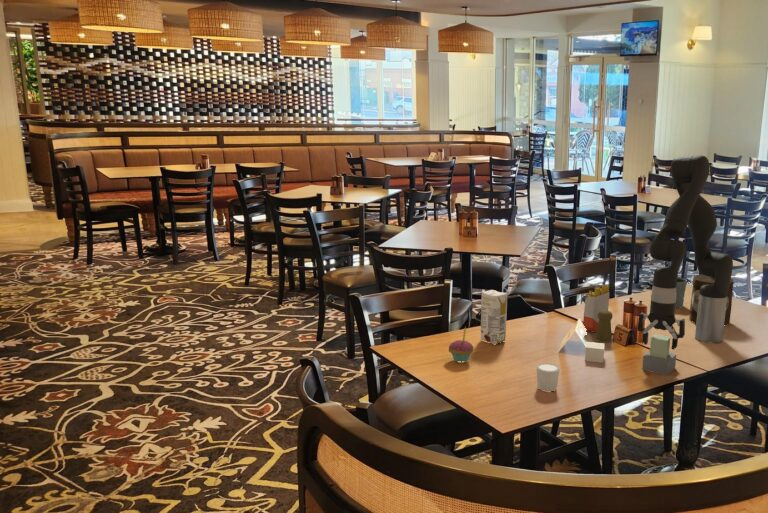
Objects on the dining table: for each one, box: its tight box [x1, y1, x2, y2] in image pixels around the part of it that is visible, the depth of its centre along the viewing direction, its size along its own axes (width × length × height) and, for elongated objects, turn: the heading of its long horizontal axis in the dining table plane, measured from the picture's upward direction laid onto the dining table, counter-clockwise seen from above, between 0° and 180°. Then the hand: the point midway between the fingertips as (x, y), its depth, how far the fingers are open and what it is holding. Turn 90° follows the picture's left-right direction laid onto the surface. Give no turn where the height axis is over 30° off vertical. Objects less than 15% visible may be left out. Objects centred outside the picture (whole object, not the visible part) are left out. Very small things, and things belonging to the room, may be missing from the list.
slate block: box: [641, 350, 677, 376], centre depth 213 cm, size 8×8×5 cm
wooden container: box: [688, 274, 734, 326], centre depth 259 cm, size 15×15×22 cm
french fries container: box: [582, 285, 610, 334], centre depth 251 cm, size 5×11×18 cm, turn 131°
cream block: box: [584, 341, 605, 364], centre depth 222 cm, size 6×6×5 cm
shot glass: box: [536, 363, 560, 392], centre depth 198 cm, size 7×7×7 cm
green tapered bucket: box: [675, 276, 688, 309], centre depth 283 cm, size 10×10×12 cm
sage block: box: [649, 333, 671, 359], centre depth 212 cm, size 5×5×6 cm
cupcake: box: [448, 326, 474, 362], centre depth 220 cm, size 9×8×12 cm
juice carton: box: [480, 289, 508, 345], centre depth 238 cm, size 8×9×19 cm
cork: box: [594, 310, 613, 343], centre depth 241 cm, size 6×6×11 cm
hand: (659, 346), depth 212 cm, fingers open, 8 cm apart
